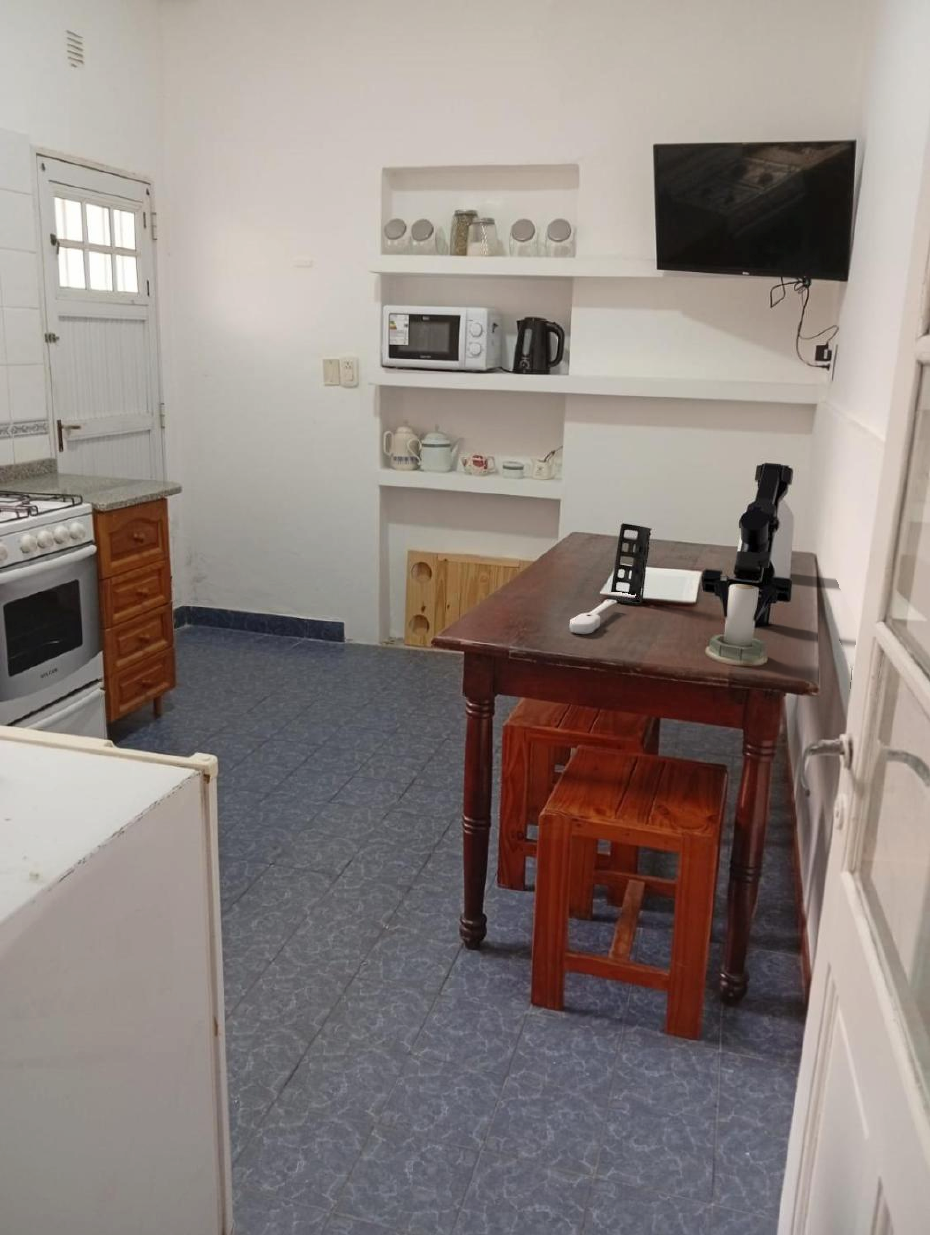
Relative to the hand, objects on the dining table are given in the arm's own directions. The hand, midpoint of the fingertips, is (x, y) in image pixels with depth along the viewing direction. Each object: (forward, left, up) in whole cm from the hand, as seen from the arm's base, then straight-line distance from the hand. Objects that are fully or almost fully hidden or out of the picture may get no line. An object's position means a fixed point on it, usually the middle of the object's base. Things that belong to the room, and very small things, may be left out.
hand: (739, 617), depth 210 cm
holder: (+1, -52, -9) cm, 53 cm away
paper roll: (-1, -1, -7) cm, 7 cm away
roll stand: (-1, -1, -9) cm, 9 cm away
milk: (-56, -80, -9) cm, 98 cm away
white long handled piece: (+19, -32, -9) cm, 38 cm away
